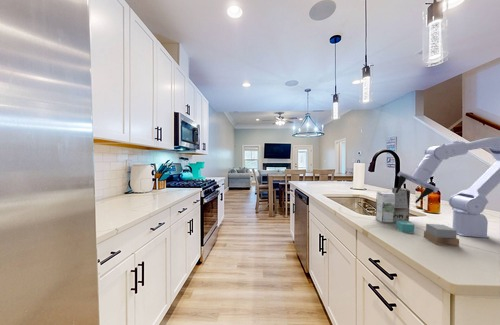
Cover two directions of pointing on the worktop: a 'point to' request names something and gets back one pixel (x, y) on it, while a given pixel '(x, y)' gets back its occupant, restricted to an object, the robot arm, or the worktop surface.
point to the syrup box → (385, 207)
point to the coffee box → (401, 204)
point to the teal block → (405, 226)
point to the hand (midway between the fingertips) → (405, 197)
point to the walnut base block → (441, 240)
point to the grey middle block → (441, 231)
